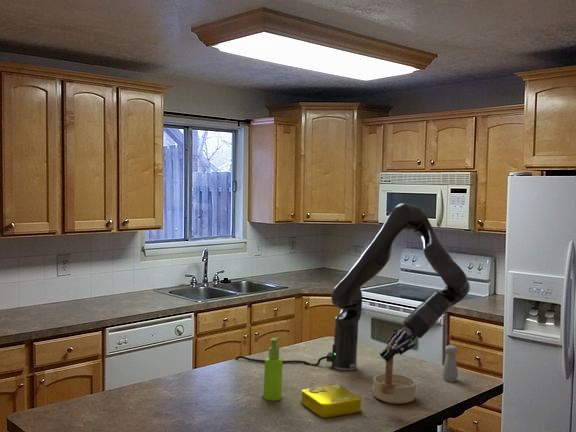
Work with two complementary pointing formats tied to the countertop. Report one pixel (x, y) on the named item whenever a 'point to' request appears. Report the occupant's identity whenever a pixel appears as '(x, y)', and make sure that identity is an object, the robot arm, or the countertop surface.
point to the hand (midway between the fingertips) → (383, 358)
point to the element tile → (331, 401)
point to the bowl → (402, 389)
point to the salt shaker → (450, 364)
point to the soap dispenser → (273, 373)
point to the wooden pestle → (388, 377)
